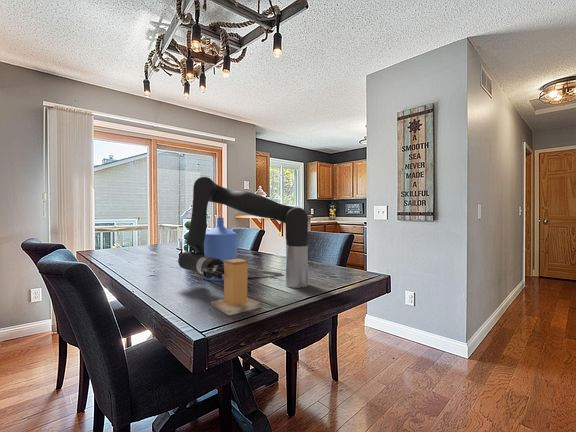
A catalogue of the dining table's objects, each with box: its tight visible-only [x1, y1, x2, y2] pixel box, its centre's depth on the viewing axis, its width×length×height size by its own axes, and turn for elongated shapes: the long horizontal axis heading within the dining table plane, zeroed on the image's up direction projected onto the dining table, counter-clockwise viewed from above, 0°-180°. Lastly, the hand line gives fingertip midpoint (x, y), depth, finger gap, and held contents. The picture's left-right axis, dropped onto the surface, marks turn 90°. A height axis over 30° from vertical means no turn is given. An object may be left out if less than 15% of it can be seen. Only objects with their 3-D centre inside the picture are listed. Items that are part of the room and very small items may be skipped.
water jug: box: [202, 217, 238, 282], centre depth 144 cm, size 16×16×28 cm
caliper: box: [247, 266, 284, 278], centre depth 148 cm, size 20×1×6 cm, turn 106°
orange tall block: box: [223, 258, 249, 306], centre depth 103 cm, size 6×6×14 cm
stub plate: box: [210, 296, 262, 316], centre depth 103 cm, size 12×12×6 cm
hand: (232, 274), depth 104 cm, fingers open, 8 cm apart
